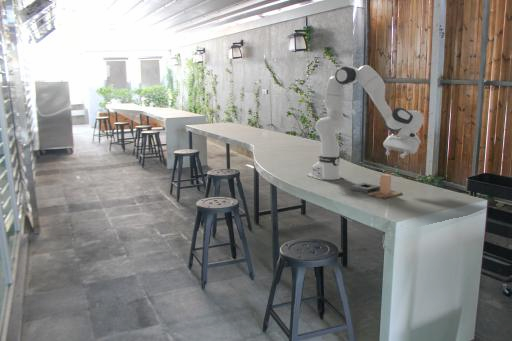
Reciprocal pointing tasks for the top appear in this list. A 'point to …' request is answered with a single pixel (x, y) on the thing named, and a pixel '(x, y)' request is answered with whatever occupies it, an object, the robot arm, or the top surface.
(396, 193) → the board
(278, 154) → the top surface
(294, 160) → the top surface
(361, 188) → the socket
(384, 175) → the peg
